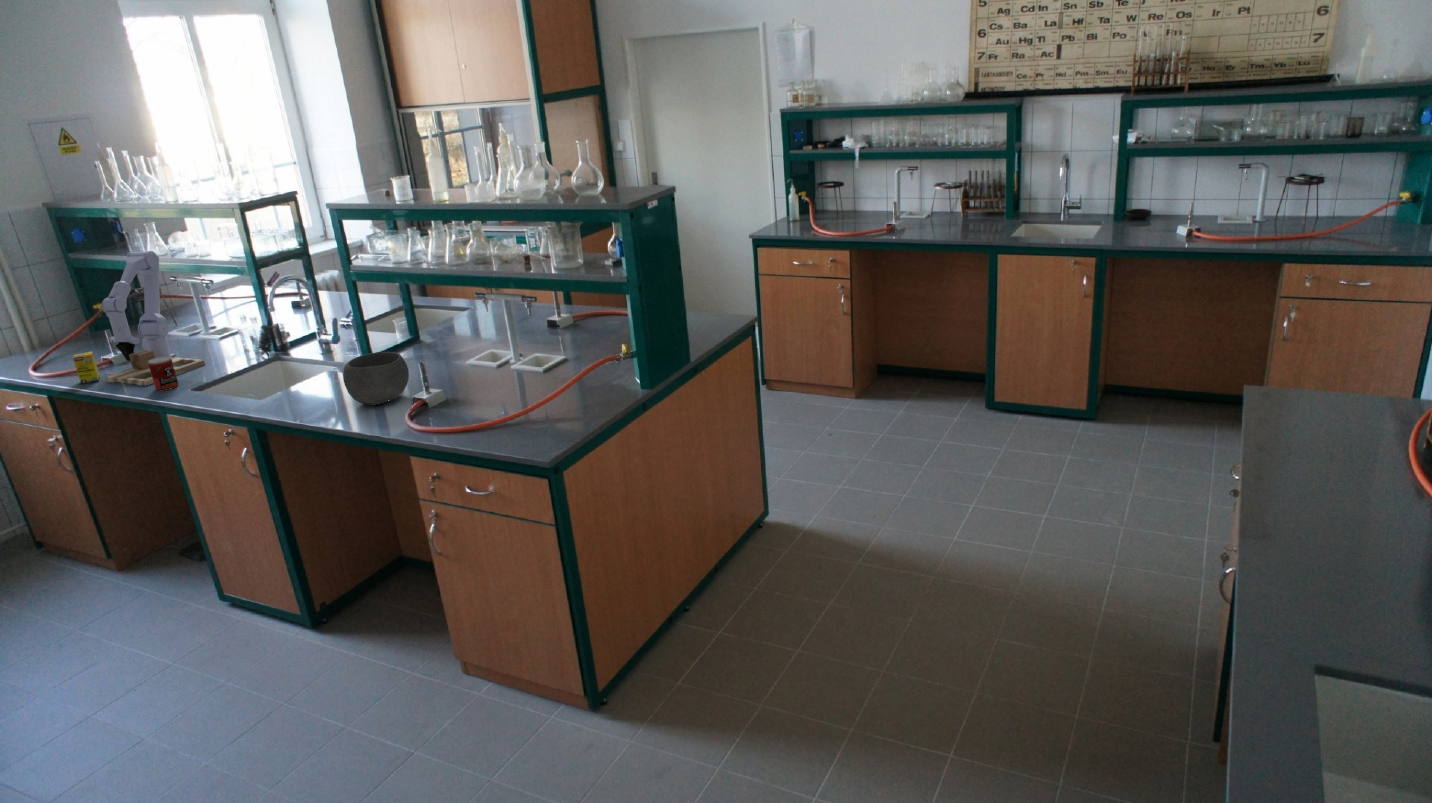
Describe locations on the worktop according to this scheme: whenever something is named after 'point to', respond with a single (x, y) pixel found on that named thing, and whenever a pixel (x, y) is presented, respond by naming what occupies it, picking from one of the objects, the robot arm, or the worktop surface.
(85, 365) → the supplement box
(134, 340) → the robot arm
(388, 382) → the bowl
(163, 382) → the canned food
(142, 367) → the walnut block
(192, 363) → the trap deck
